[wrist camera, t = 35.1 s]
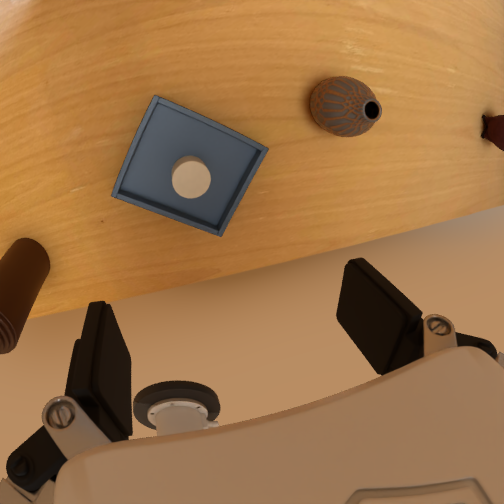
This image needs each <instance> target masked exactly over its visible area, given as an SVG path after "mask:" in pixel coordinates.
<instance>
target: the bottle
mask: <svg viewBox="0 0 504 504" xmlns="http://www.w3.org/2000/svg"><path fill="white" fill-rule="evenodd" d="M49 270H50V261H49V257H48V255H47V253H46V251H45V250H44V248H43V247H42V246H41V245H40V244H39V243H37V242H36V241H34V240H32V239H29V238H22V239H18V240H17V241H15V242H14V243H13V245H12V246H11V247H10V248H9V250H8V251H7V252H6V253H5V255H4V256H3V257H2V259H1V260H0V354H5V353H9V352H10V351H12V350H13V349H14V348H15V347H16V345H17V342H18V340H19V337H20V334H21V332H22V330H23V327H24V325H25V322H26V320H27V318H28V315H29V313H30V311H31V308H32V306H33V304H34V302H35V300H36V297H37V295H38V293H39V291H40V289H41V287H42V285H43V283H44V281H45V279H46V277H47V275H48V273H49Z"/></svg>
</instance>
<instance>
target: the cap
mask: <svg viewBox="0 0 504 504" xmlns="http://www.w3.org/2000/svg"><path fill="white" fill-rule="evenodd" d="M210 182H211V176H210V172H209V170H208V169H207V167H206V165H205V164H204V162H203V161H202V160H201V159H200V158H198V157H195V156H184V157H182V158H180V159H179V160H177V161H176V162H175V164H174V166H173V168H172V184H173V187H174V189H175V191H176V192H177V193H178V194H179V195H180V196H182V197H185V198H196V197H199V196H201V195H202V194H204V193H205V192H206V191H207V189H208V188H209V185H210Z"/></svg>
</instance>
